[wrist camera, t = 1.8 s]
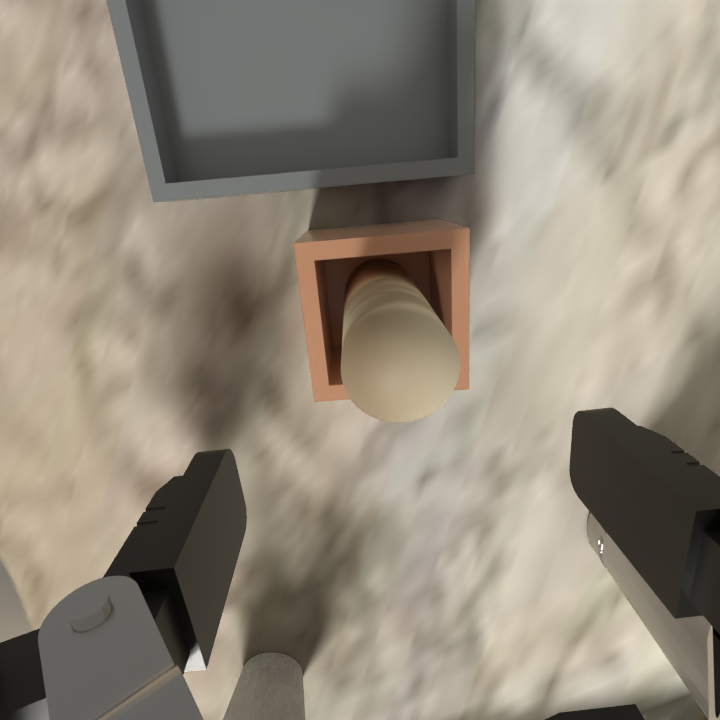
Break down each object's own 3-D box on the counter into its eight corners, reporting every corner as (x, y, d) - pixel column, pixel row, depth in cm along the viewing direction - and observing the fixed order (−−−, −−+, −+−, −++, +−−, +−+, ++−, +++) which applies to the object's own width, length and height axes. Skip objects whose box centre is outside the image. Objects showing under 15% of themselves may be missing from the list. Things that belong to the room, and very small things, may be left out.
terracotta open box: (439, 218, 26) (469, 228, 19) (441, 343, 28) (468, 389, 22) (307, 230, 26) (293, 243, 19) (322, 353, 28) (314, 401, 22)
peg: (411, 255, 25) (459, 306, 14) (414, 323, 27) (460, 417, 16) (341, 261, 25) (334, 316, 14) (348, 328, 27) (346, 426, 16)
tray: (459, -104, 21) (476, -150, 18) (460, 175, 25) (474, 173, 22) (116, -71, 21) (80, -112, 18) (175, 201, 25) (153, 202, 22)
